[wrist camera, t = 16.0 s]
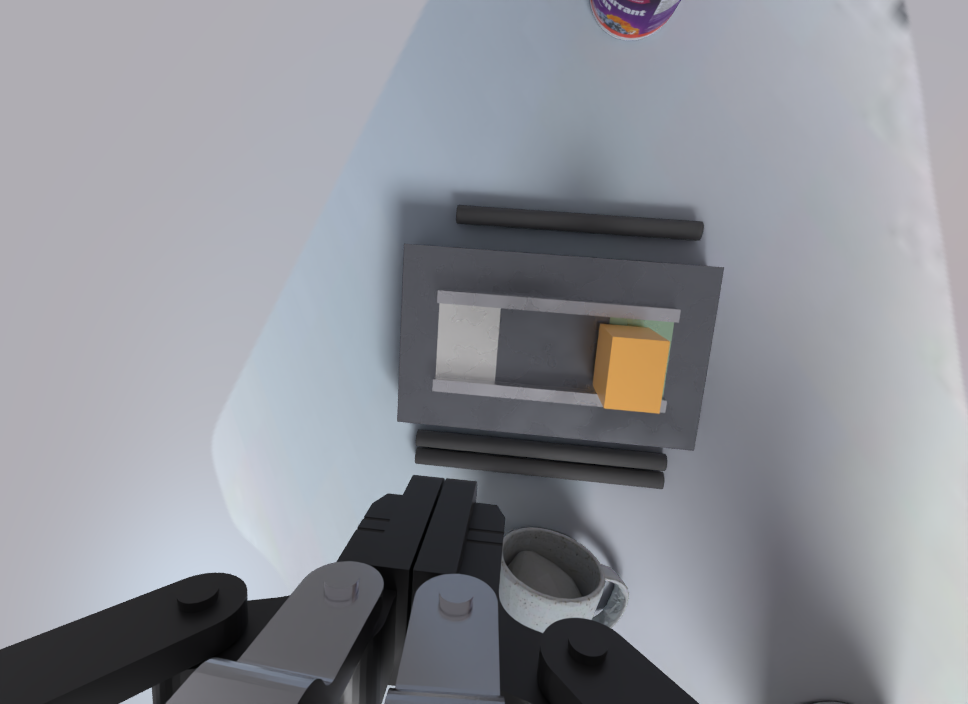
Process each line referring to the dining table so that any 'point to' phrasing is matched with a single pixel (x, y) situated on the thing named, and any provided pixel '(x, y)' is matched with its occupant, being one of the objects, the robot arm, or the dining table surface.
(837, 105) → the dining table surface
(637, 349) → the lever
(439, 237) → the dining table surface
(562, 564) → the ceramic mug
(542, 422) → the panel
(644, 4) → the pill bottle
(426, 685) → the robot arm
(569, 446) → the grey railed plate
